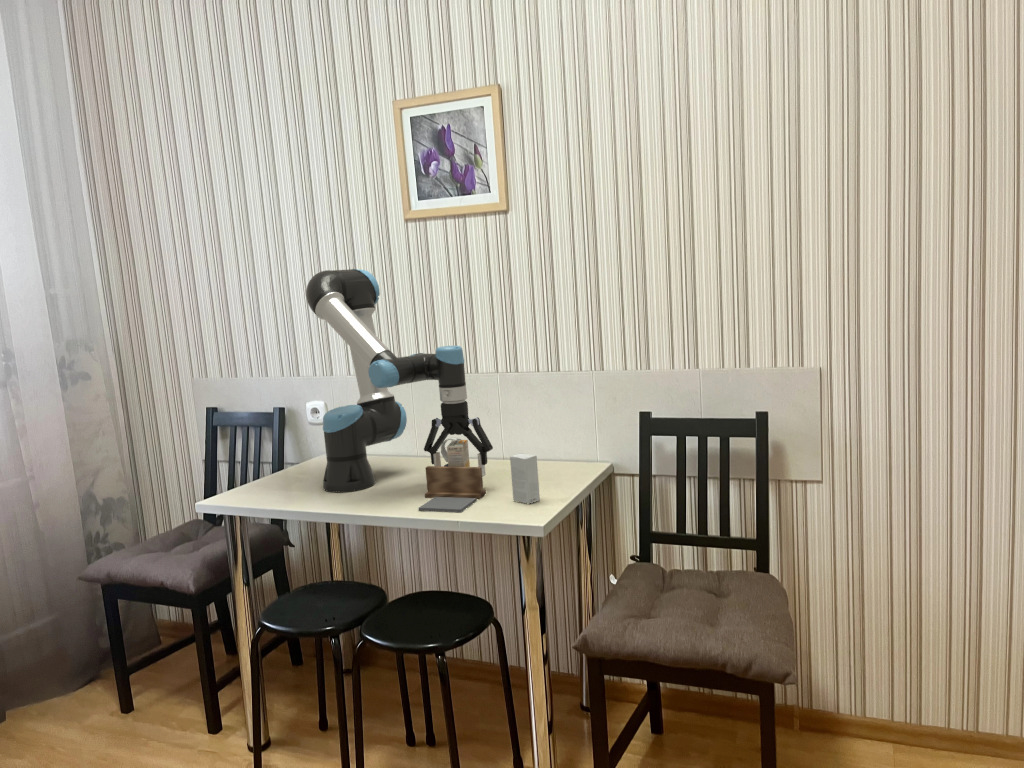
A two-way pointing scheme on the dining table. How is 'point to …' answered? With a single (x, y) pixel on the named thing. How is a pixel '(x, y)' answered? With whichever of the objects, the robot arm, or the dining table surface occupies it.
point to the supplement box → (458, 453)
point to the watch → (443, 450)
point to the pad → (447, 504)
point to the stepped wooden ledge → (454, 482)
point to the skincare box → (525, 478)
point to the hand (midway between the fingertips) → (460, 475)
